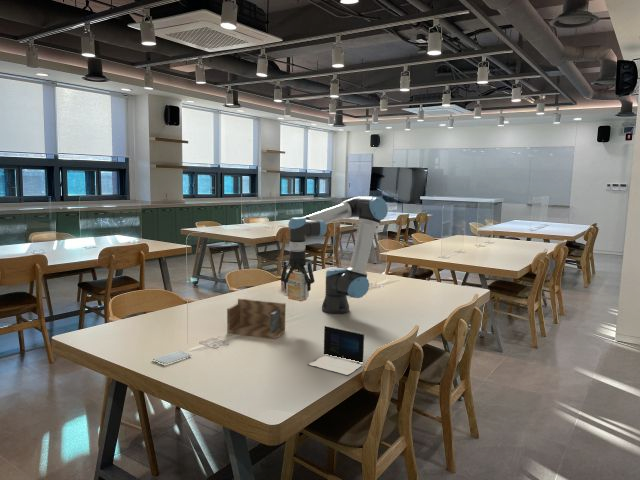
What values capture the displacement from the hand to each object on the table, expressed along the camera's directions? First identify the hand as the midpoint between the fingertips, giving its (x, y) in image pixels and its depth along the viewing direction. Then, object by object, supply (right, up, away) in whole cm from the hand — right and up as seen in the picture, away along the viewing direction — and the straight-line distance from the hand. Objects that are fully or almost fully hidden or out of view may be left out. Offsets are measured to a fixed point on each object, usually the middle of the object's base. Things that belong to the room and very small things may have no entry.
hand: (297, 296), depth 228 cm
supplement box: (0, -2, 0) cm, 2 cm away
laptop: (+17, -22, -44) cm, 52 cm away
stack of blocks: (-8, -6, +77) cm, 77 cm away
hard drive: (-47, -21, -42) cm, 66 cm away
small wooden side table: (-19, -16, -6) cm, 25 cm away
